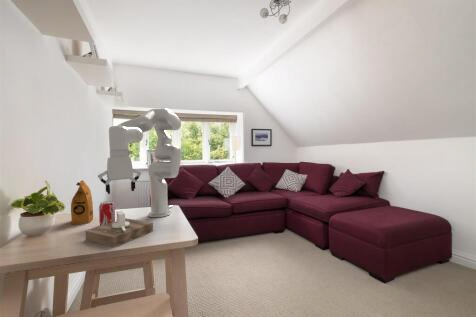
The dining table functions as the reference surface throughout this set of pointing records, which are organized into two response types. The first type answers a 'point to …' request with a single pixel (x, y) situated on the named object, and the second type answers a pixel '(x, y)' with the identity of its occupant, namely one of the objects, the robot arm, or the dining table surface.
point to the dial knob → (121, 221)
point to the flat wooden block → (118, 233)
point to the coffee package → (82, 205)
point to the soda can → (106, 213)
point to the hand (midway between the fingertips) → (121, 192)
